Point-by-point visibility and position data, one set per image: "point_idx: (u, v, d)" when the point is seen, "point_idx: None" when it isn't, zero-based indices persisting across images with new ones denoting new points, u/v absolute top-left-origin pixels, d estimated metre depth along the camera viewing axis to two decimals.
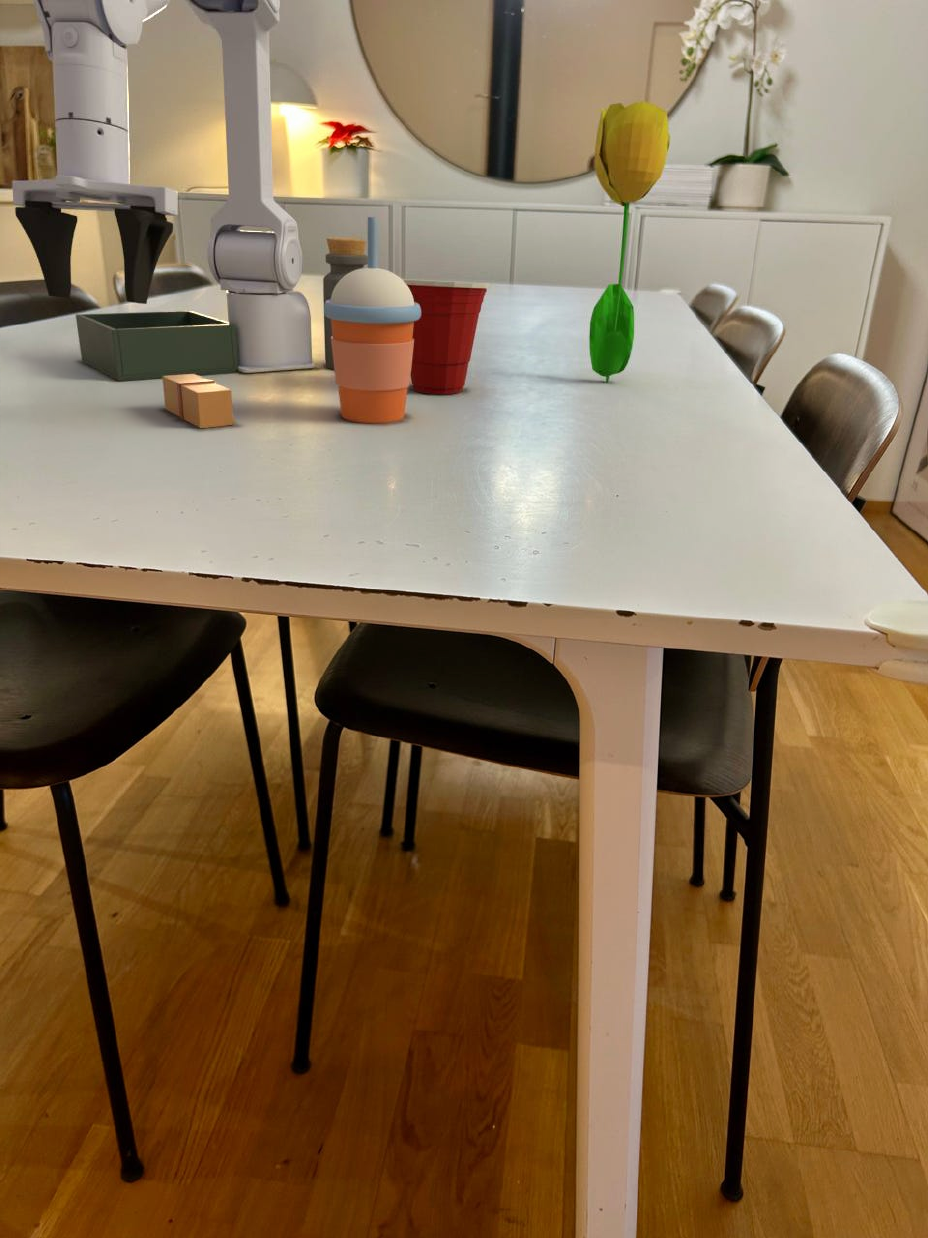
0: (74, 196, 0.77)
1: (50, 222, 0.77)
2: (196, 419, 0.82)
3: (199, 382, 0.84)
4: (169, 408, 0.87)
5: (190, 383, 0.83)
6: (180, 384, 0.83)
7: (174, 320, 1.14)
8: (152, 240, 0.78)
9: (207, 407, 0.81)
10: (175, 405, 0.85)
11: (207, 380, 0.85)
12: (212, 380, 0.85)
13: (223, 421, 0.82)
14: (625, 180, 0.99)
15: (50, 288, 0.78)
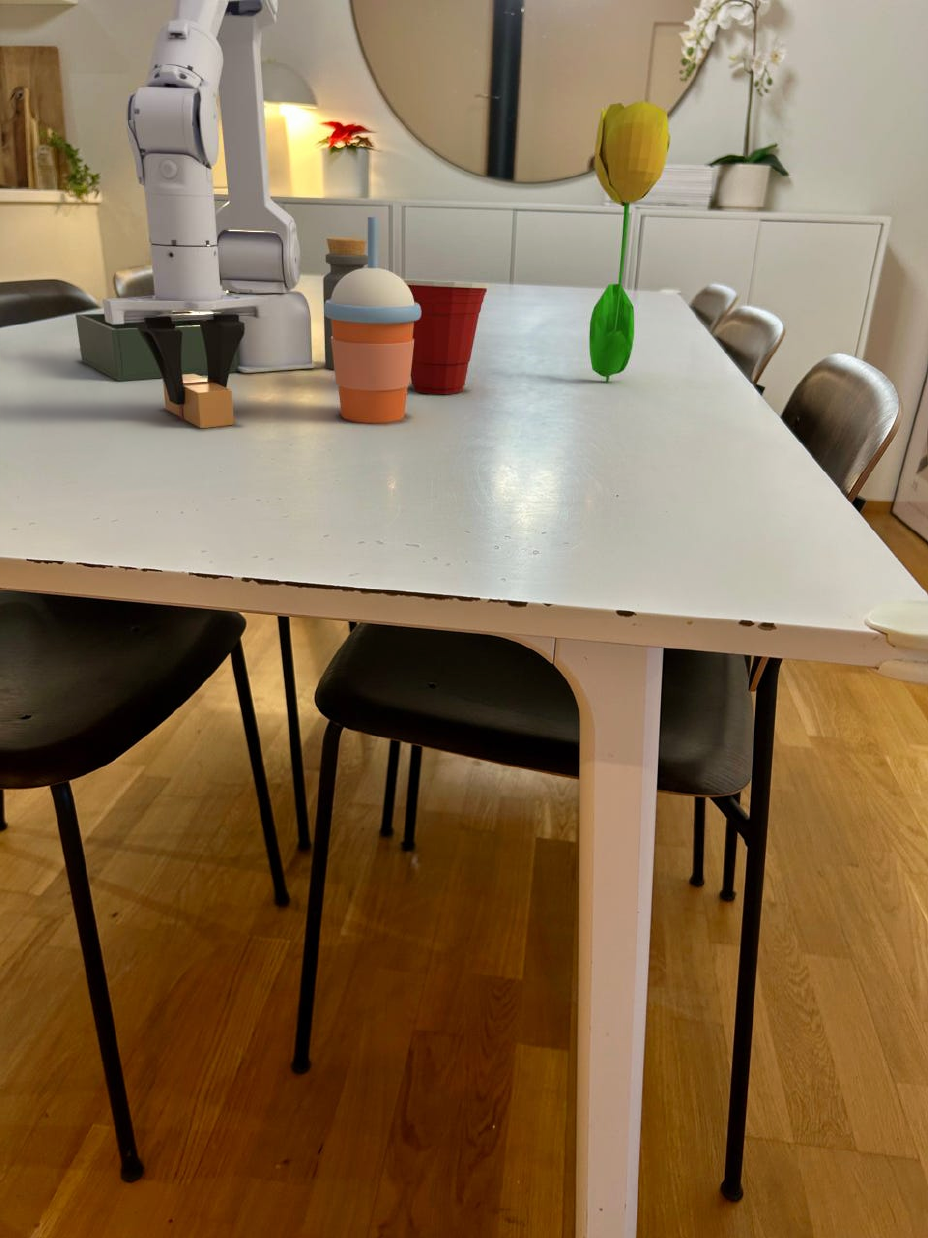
0: None
1: None
2: (197, 419, 0.82)
3: (199, 382, 0.84)
4: (169, 408, 0.87)
5: (190, 383, 0.84)
6: None
7: None
8: None
9: (207, 407, 0.81)
10: (175, 405, 0.85)
11: (207, 380, 0.85)
12: (212, 380, 0.85)
13: (223, 421, 0.82)
14: (625, 180, 0.98)
15: (181, 398, 0.83)
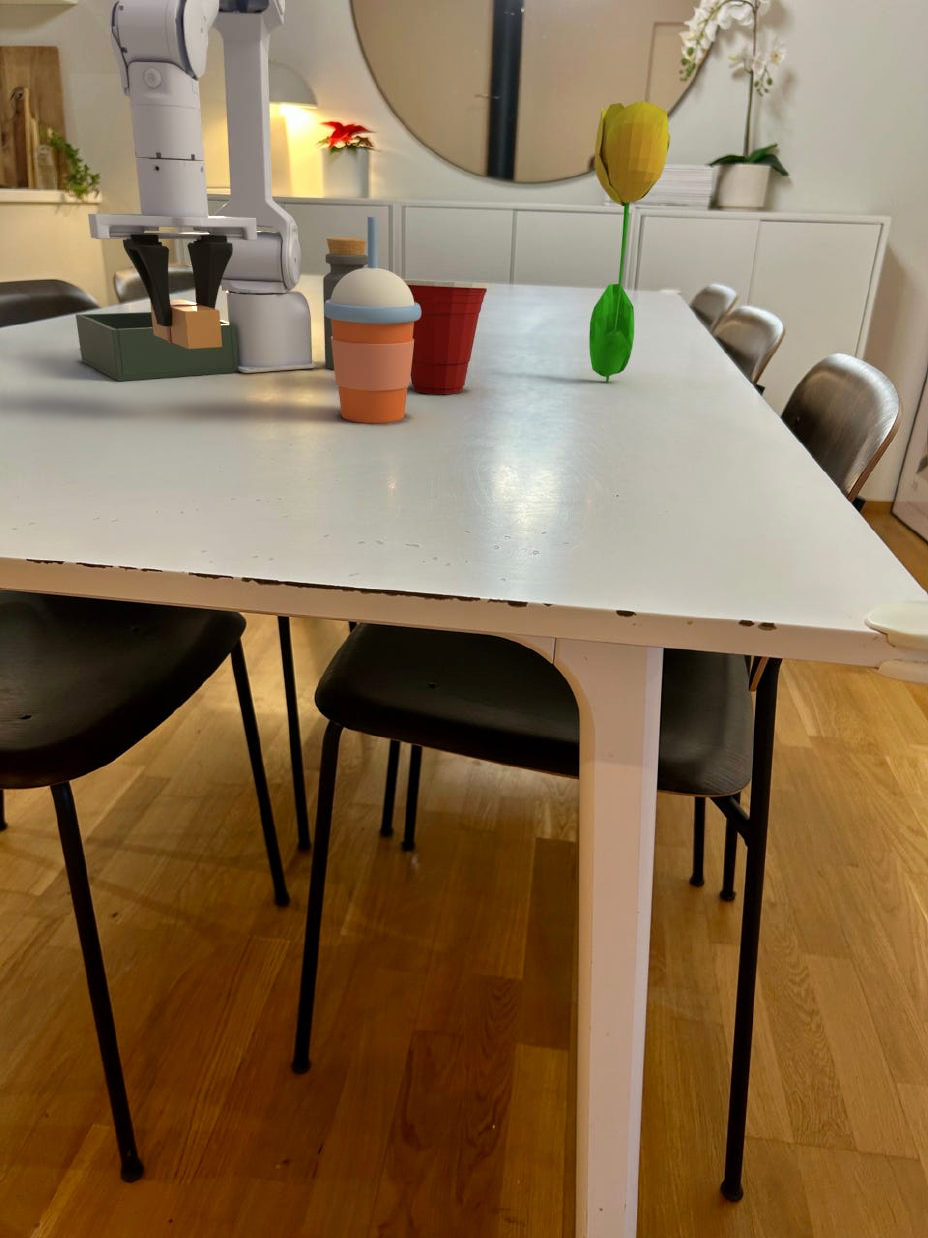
0: None
1: None
2: (184, 339, 0.81)
3: (187, 304, 0.83)
4: (157, 333, 0.86)
5: (178, 305, 0.82)
6: None
7: None
8: None
9: (195, 326, 0.80)
10: (163, 329, 0.84)
11: (195, 303, 0.84)
12: (200, 303, 0.84)
13: (211, 342, 0.81)
14: (625, 180, 0.98)
15: (168, 319, 0.82)
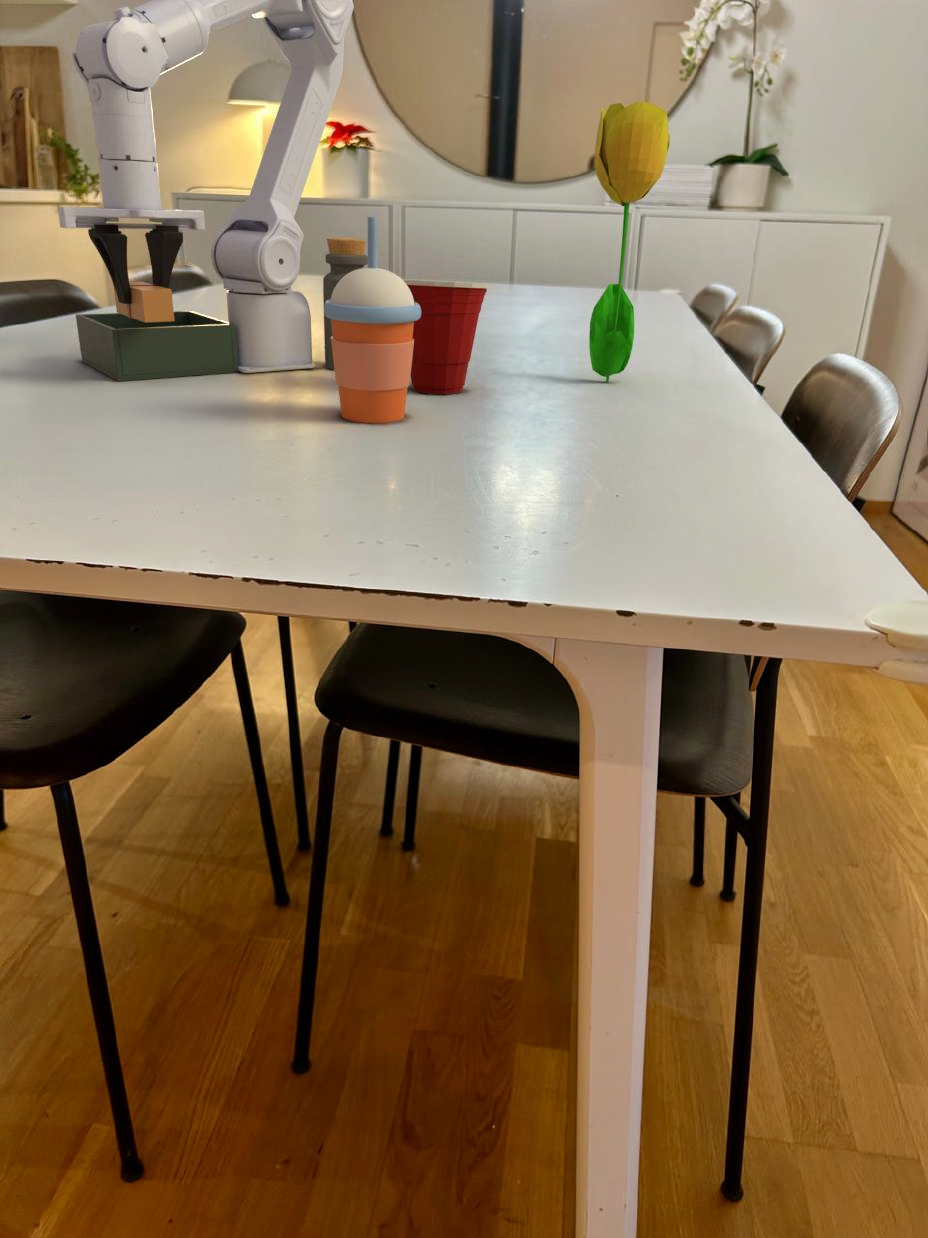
0: None
1: None
2: (141, 314, 0.94)
3: (144, 285, 0.96)
4: (119, 310, 0.99)
5: (136, 285, 0.96)
6: None
7: (174, 320, 1.14)
8: None
9: (150, 303, 0.94)
10: (124, 306, 0.98)
11: (152, 284, 0.97)
12: (156, 284, 0.97)
13: (165, 317, 0.95)
14: (625, 180, 0.98)
15: (128, 297, 0.95)
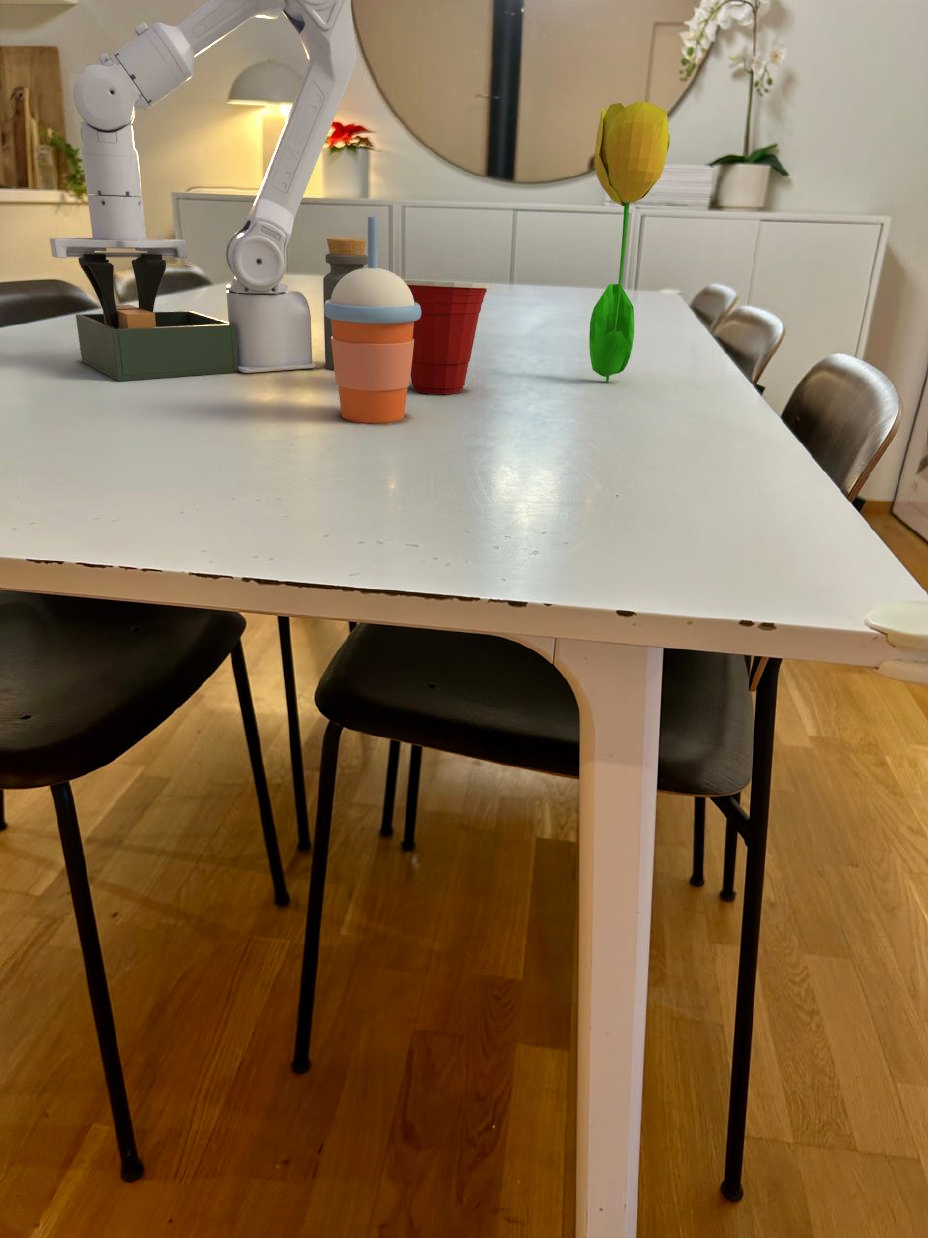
0: None
1: None
2: None
3: (130, 308, 1.04)
4: None
5: (123, 309, 1.04)
6: None
7: (174, 320, 1.14)
8: None
9: (135, 326, 1.02)
10: None
11: (137, 307, 1.05)
12: None
13: None
14: (625, 180, 0.98)
15: (115, 320, 1.03)
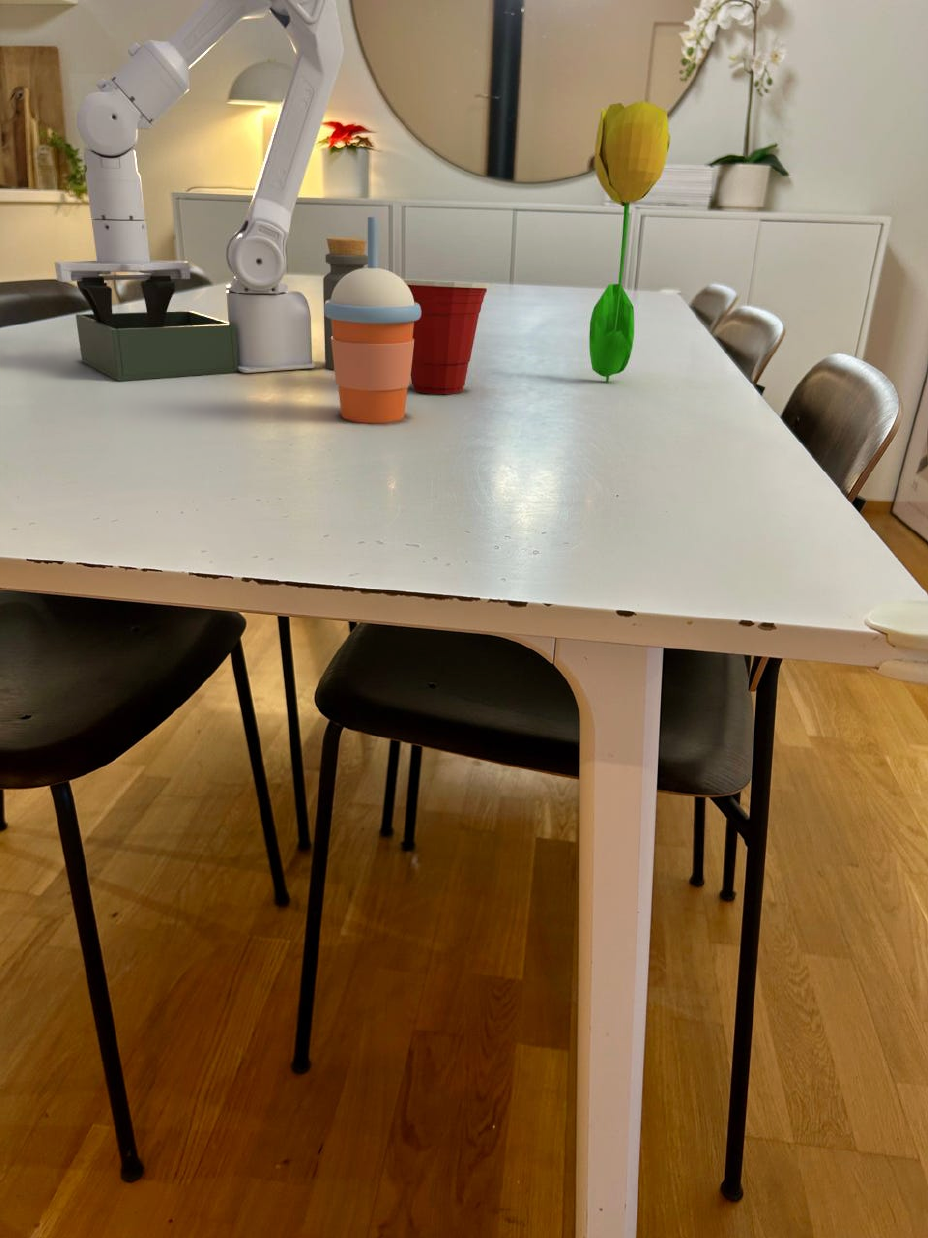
0: None
1: None
2: None
3: None
4: None
5: None
6: None
7: (174, 320, 1.14)
8: None
9: None
10: None
11: None
12: None
13: None
14: (625, 180, 0.98)
15: None
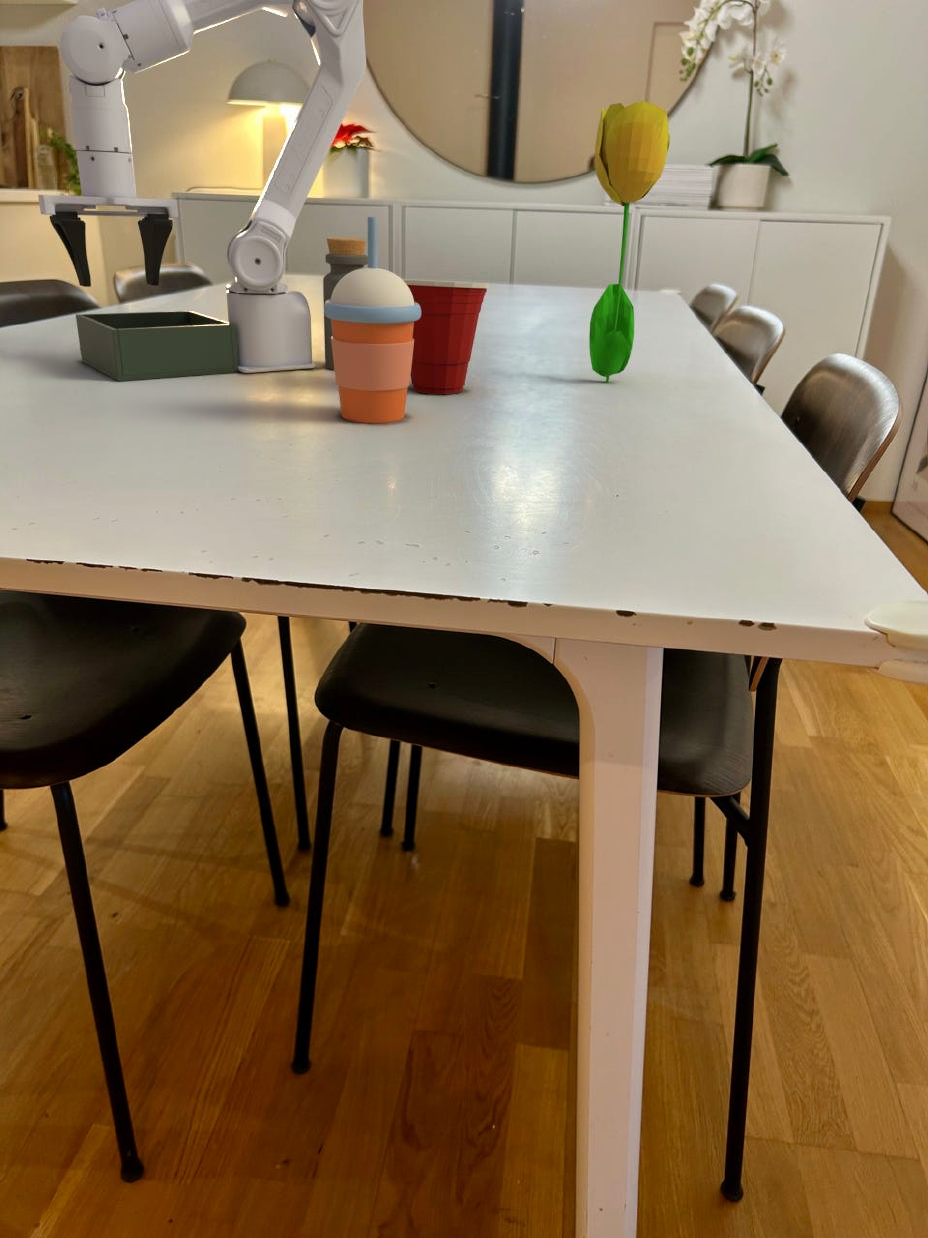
0: None
1: None
2: None
3: None
4: None
5: None
6: None
7: (174, 320, 1.14)
8: None
9: None
10: None
11: None
12: None
13: None
14: (625, 180, 0.98)
15: (88, 281, 1.01)
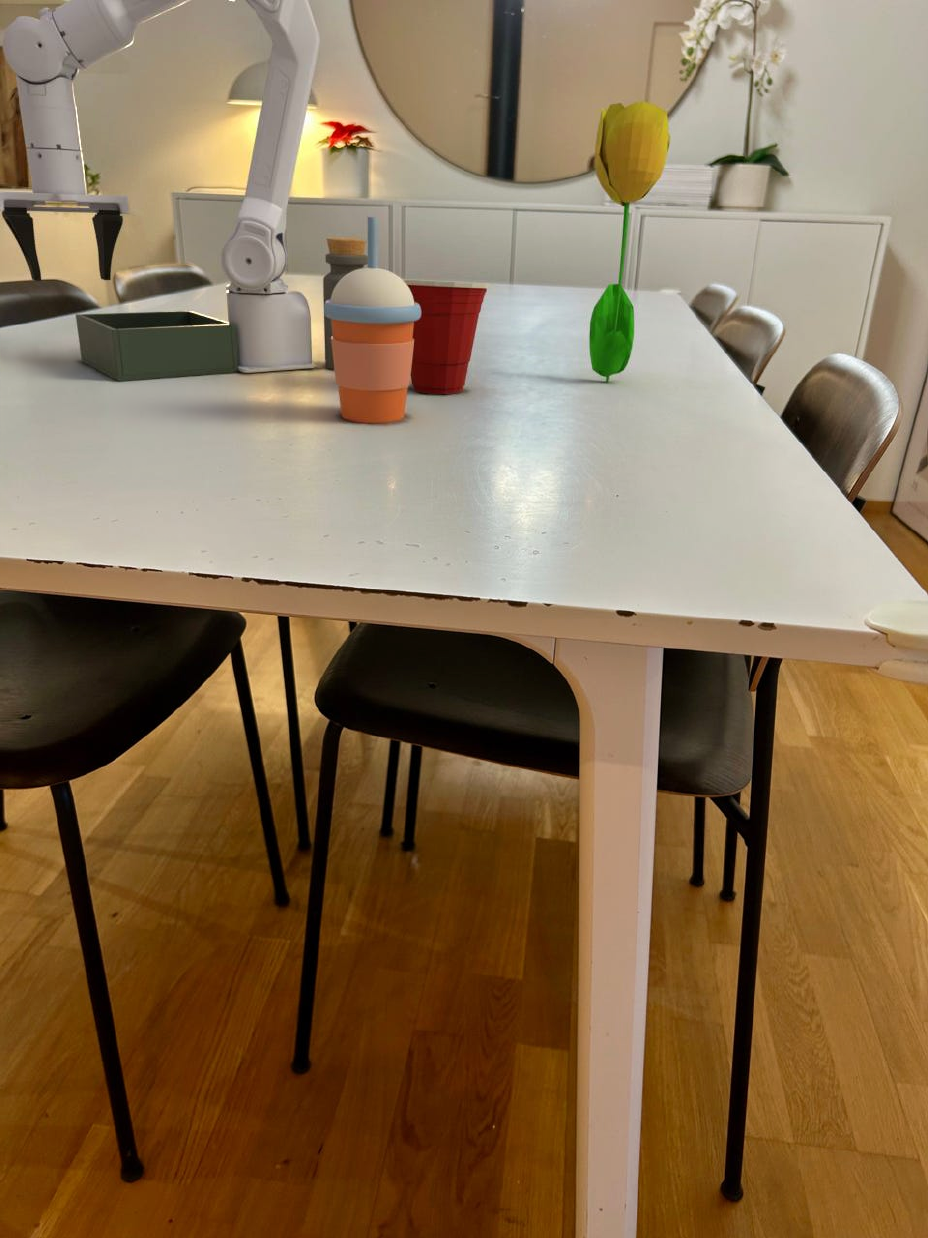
0: None
1: None
2: None
3: None
4: None
5: None
6: None
7: (174, 320, 1.14)
8: None
9: None
10: None
11: None
12: None
13: None
14: (625, 180, 0.98)
15: (38, 275, 1.03)
